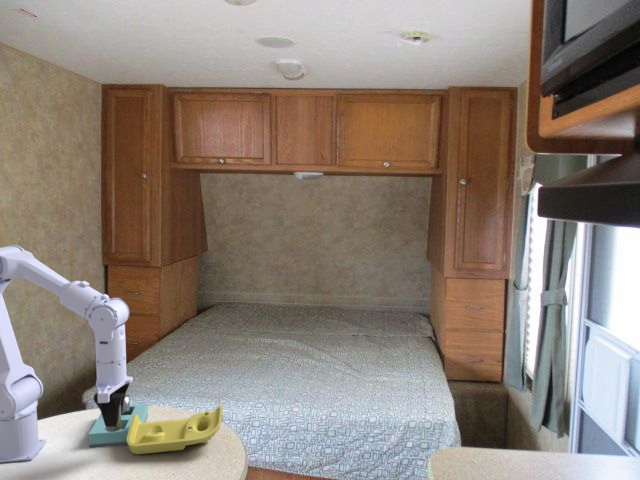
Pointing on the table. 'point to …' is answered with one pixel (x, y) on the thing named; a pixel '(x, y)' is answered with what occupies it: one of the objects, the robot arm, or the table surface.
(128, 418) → the housing
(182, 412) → the table surface
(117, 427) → the peg
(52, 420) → the table surface
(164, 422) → the plastic component
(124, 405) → the peg
